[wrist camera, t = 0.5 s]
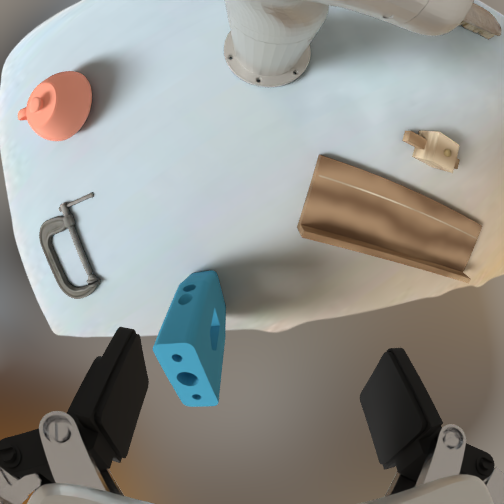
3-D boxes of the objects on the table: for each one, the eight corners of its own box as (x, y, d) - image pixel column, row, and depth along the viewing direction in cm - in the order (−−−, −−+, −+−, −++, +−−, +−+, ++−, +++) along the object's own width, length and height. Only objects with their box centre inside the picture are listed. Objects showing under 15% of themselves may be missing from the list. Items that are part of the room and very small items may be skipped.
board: (318, 154, 38) (326, 156, 34) (477, 223, 42) (491, 230, 38) (297, 227, 43) (301, 237, 39) (457, 273, 47) (468, 283, 43)
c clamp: (34, 210, 42) (26, 214, 39) (94, 191, 41) (86, 194, 38) (64, 296, 50) (58, 303, 47) (125, 292, 49) (119, 300, 46)
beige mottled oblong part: (484, 16, 22) (497, 12, 17) (493, 42, 25) (507, 40, 20) (408, -13, 24) (420, -22, 19) (420, 16, 27) (434, 9, 22)
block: (228, 317, 50) (220, 405, 32) (203, 320, 50) (184, 406, 32) (213, 260, 45) (192, 342, 27) (185, 264, 46) (150, 344, 27)
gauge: (403, 122, 36) (425, 121, 30) (451, 150, 37) (474, 154, 31) (396, 149, 38) (417, 152, 32) (444, 174, 39) (467, 181, 33)
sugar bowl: (98, 133, 36) (62, 136, 27) (41, 146, 36) (5, 154, 27) (100, 66, 31) (67, 54, 22) (42, 86, 31) (7, 83, 22)
